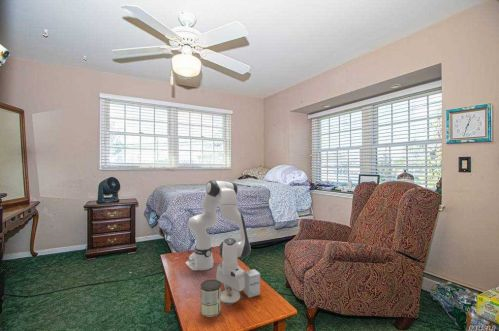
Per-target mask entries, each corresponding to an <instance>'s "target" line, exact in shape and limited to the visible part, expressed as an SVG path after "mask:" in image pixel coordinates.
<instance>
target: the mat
mask: <svg viewBox="0 0 499 331" xmlns="http://www.w3.org/2000/svg"><path fill="white" fill-rule="evenodd" d="M244 298H245V296H244V295H242V294H240V299H239V300H238V301H237V302H240V301H241V300H242V299H244ZM237 302H235V303H237ZM235 303H223V304H224V305H226V306H228V307H230V306H232V305H234V304H235Z"/></svg>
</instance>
